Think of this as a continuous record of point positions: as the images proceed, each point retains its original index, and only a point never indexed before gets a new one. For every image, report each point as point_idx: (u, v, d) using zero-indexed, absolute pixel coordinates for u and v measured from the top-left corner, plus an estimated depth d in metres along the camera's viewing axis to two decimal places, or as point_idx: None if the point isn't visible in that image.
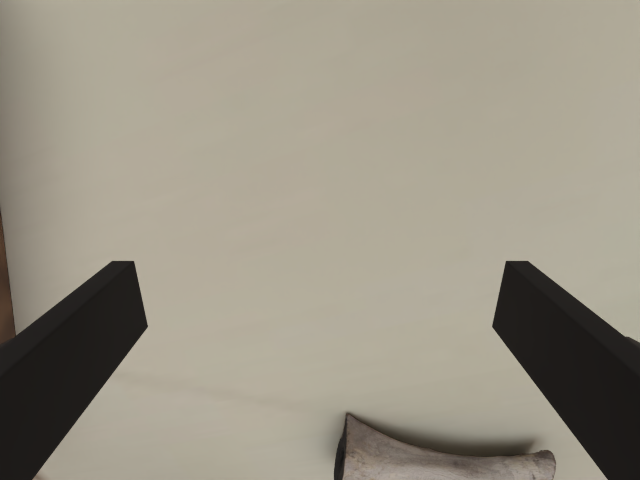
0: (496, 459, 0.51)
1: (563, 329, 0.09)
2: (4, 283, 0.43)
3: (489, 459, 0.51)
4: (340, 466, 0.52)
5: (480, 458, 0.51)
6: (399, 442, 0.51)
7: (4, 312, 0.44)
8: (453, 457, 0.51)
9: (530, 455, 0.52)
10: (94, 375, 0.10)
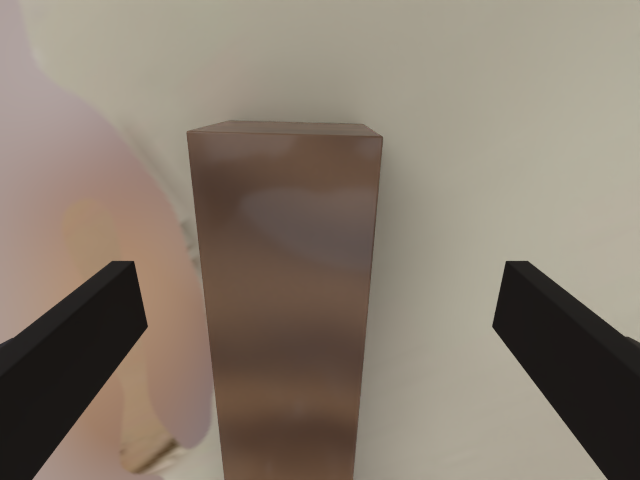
0: None
1: (563, 329, 0.09)
2: None
3: None
4: None
5: None
6: None
7: None
8: None
9: None
10: (94, 375, 0.10)
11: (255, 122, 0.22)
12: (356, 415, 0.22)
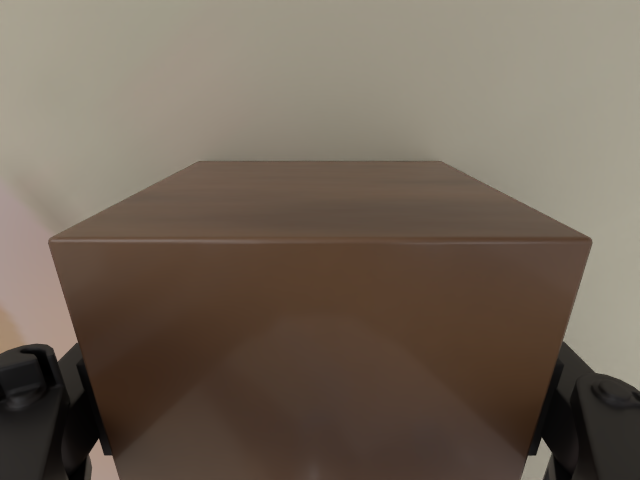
0: None
1: None
2: None
3: None
4: None
5: None
6: None
7: None
8: None
9: None
10: None
11: (246, 166, 0.12)
12: None
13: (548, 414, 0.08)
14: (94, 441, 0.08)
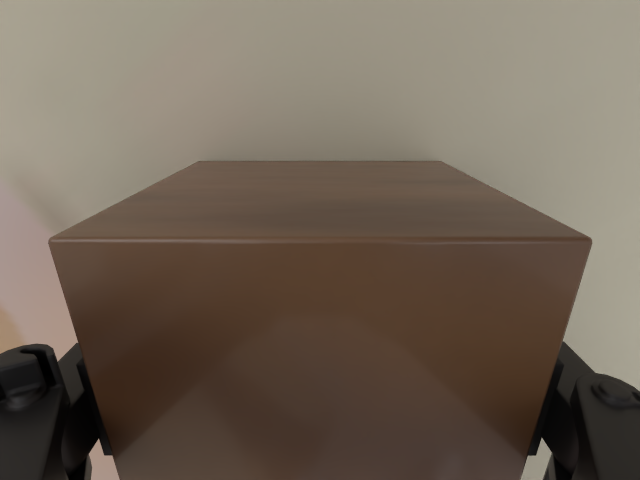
0: None
1: None
2: None
3: None
4: None
5: None
6: None
7: None
8: None
9: None
10: None
11: (246, 166, 0.12)
12: None
13: (548, 413, 0.08)
14: (94, 441, 0.08)
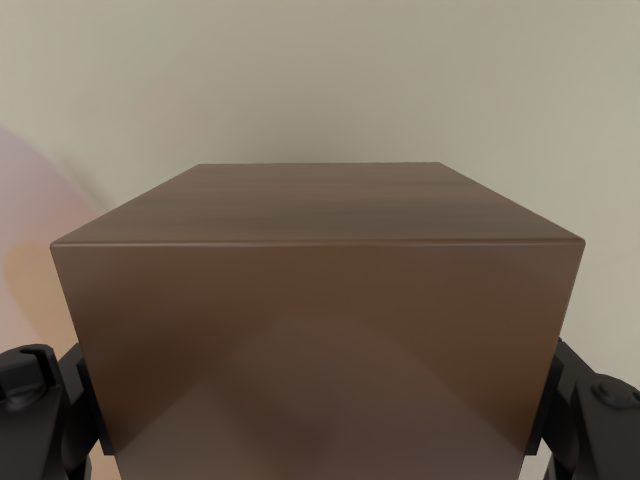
0: None
1: None
2: None
3: None
4: None
5: None
6: None
7: None
8: None
9: None
10: None
11: (245, 169, 0.12)
12: None
13: (548, 413, 0.08)
14: (94, 441, 0.08)
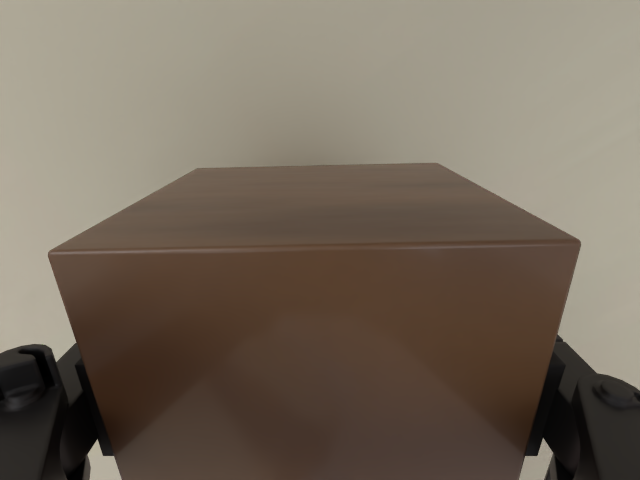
0: None
1: None
2: None
3: None
4: None
5: None
6: None
7: None
8: None
9: None
10: None
11: (243, 172, 0.12)
12: None
13: (550, 414, 0.08)
14: (92, 441, 0.08)
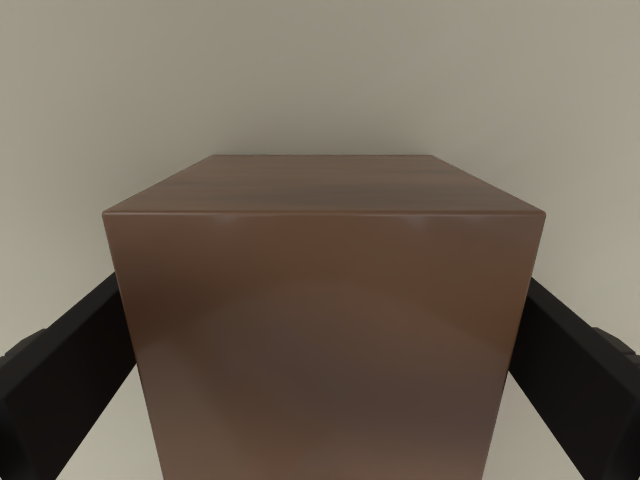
0: None
1: (534, 320, 0.10)
2: None
3: None
4: None
5: None
6: None
7: None
8: None
9: None
10: (120, 365, 0.11)
11: (255, 159, 0.13)
12: None
13: None
14: None
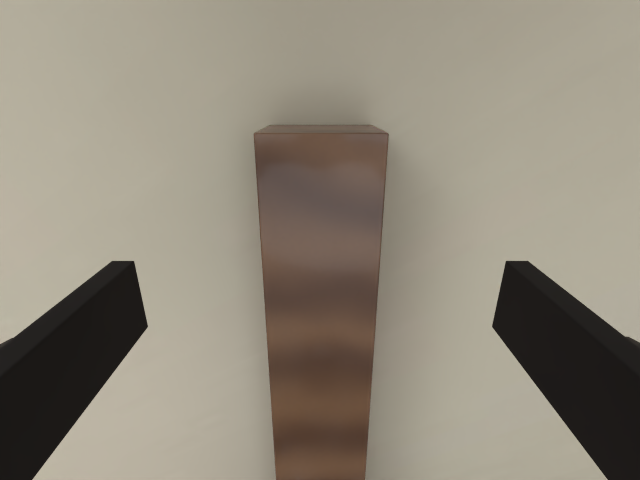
0: None
1: (563, 329, 0.09)
2: None
3: None
4: None
5: None
6: None
7: None
8: None
9: None
10: (94, 375, 0.10)
11: None
12: (372, 344, 0.29)
13: None
14: None
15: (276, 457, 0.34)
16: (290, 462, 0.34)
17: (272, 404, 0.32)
